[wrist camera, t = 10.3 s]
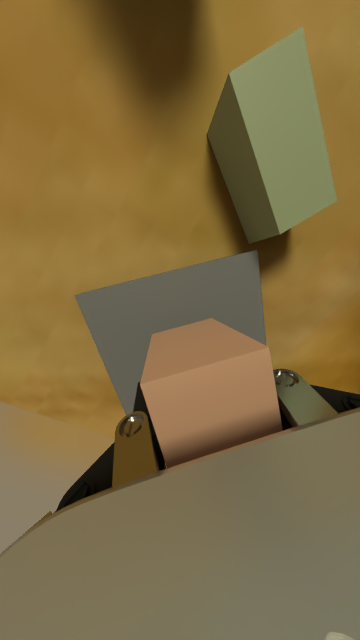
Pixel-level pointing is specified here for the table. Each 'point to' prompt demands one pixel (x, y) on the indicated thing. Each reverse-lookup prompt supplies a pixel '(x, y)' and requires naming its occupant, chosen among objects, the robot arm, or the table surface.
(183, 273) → the charcoal mat
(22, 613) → the robot arm
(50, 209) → the table surface
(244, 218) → the olive brick
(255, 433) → the terracotta brick
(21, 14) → the table surface
